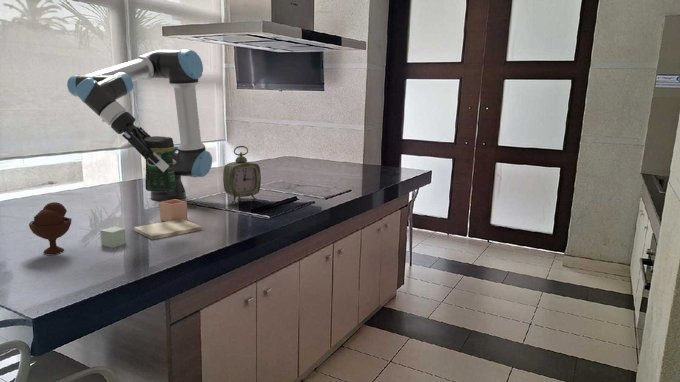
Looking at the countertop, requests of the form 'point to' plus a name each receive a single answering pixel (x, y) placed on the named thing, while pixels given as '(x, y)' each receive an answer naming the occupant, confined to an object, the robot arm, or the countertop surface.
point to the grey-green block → (113, 236)
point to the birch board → (167, 228)
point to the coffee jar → (154, 175)
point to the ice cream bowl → (51, 225)
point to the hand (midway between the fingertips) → (170, 166)
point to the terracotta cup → (173, 210)
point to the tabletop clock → (241, 177)
